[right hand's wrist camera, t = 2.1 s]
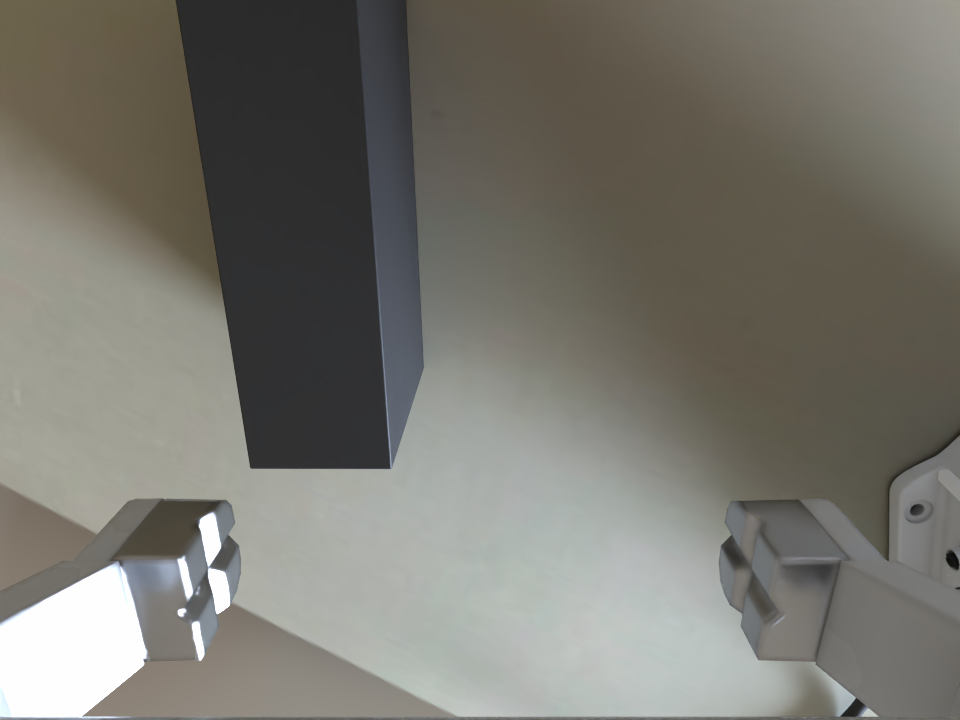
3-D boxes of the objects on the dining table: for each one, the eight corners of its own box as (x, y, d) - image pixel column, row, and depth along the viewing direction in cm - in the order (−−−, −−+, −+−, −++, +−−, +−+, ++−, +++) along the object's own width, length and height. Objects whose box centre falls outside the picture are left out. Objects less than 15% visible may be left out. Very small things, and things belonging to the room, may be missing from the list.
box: (423, 368, 38) (391, 469, 27) (323, 368, 38) (249, 469, 27) (405, -13, 31) (351, -90, 20) (282, -10, 32) (161, -84, 20)
